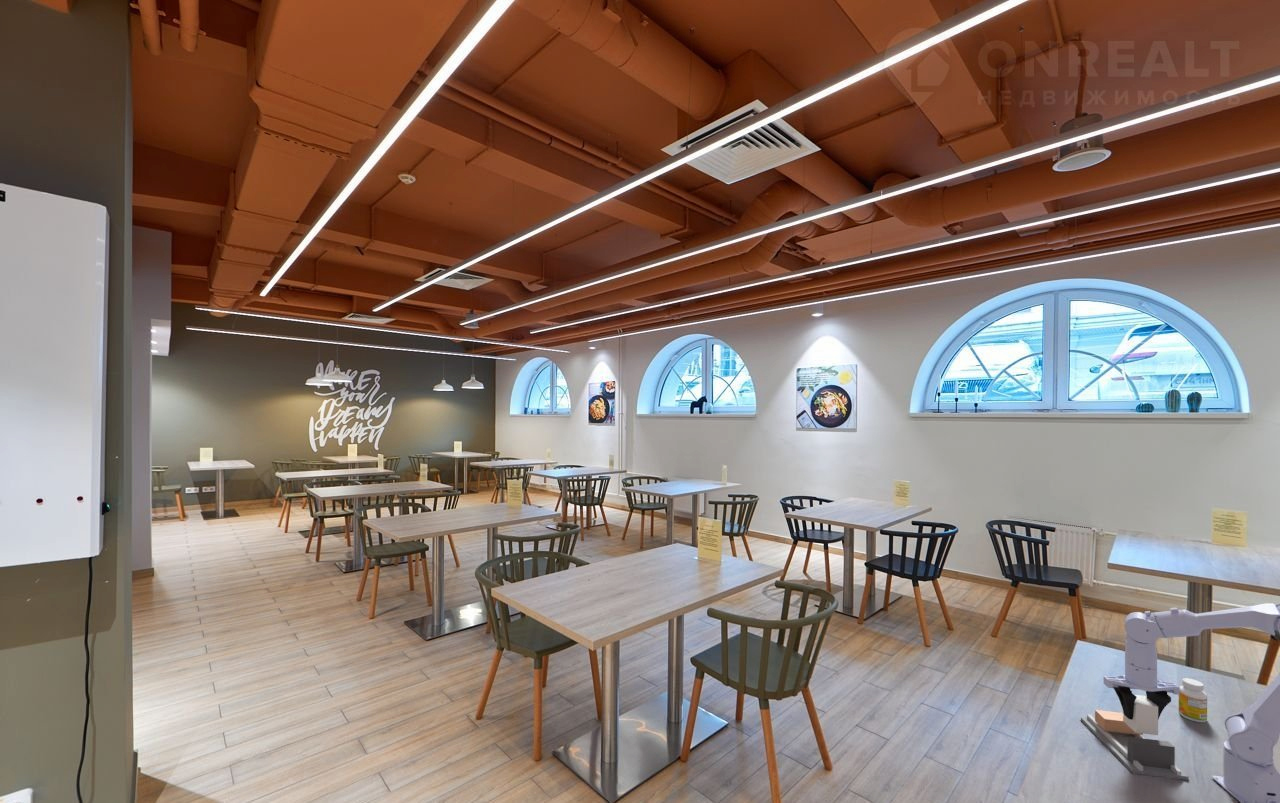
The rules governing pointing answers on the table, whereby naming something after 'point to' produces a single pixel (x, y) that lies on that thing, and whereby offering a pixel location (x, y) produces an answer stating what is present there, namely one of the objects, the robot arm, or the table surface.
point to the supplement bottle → (1193, 700)
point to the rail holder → (1139, 752)
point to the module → (1143, 716)
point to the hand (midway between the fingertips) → (1140, 718)
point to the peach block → (1113, 722)
